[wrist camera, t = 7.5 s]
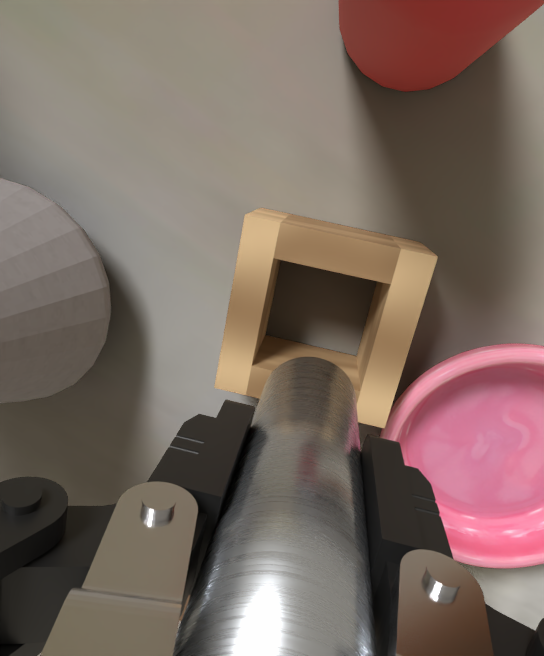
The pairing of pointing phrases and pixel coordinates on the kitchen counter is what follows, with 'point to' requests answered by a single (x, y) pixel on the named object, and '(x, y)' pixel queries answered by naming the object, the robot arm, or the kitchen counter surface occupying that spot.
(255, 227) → the oak block
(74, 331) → the coffee pot
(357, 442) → the pin
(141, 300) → the kitchen counter surface
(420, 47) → the beer can
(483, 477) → the saucer
